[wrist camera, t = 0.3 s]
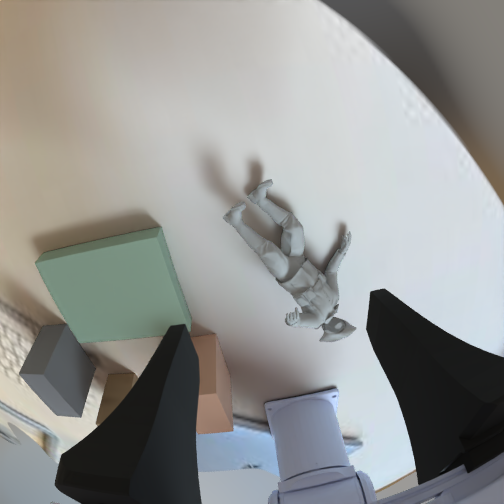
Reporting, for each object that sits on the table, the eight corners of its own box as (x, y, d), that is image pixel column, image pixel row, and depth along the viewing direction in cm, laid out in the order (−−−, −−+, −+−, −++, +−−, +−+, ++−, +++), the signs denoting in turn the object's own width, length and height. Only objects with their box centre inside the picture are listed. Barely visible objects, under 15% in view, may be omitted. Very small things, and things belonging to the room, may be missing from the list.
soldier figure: (296, 153, 19) (400, 289, 21) (260, 185, 23) (355, 299, 25) (213, 222, 15) (352, 378, 17) (187, 248, 20) (305, 374, 21)
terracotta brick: (230, 376, 28) (233, 431, 23) (199, 380, 28) (198, 434, 23) (216, 333, 25) (216, 393, 20) (180, 338, 25) (174, 397, 20)
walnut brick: (156, 405, 30) (151, 453, 25) (132, 406, 30) (125, 452, 25) (134, 372, 27) (124, 424, 22) (108, 374, 27) (95, 423, 22)
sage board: (191, 318, 24) (190, 332, 22) (84, 331, 24) (79, 343, 23) (161, 226, 20) (157, 237, 18) (43, 252, 20) (34, 263, 18)
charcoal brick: (95, 367, 26) (81, 417, 21) (72, 368, 26) (56, 415, 21) (66, 323, 23) (43, 374, 18) (43, 325, 23) (18, 373, 18)
